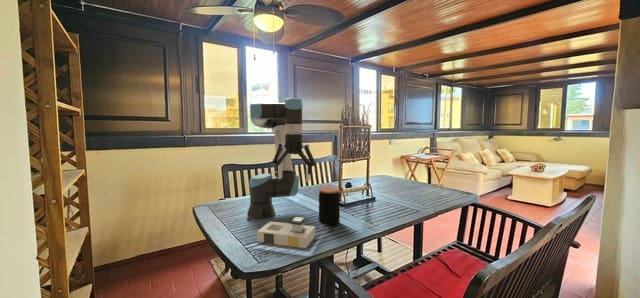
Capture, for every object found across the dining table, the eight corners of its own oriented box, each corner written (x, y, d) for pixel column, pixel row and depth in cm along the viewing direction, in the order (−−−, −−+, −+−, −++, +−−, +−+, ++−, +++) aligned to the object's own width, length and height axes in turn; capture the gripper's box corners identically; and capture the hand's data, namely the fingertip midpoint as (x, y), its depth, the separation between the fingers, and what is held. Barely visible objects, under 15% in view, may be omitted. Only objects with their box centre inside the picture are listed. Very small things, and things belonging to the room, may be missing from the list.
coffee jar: (327, 217, 150) (327, 185, 148) (343, 222, 143) (343, 188, 141) (314, 223, 142) (314, 189, 140) (331, 228, 135) (331, 192, 133)
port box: (257, 245, 117) (256, 231, 117) (270, 233, 129) (270, 221, 128) (305, 252, 111) (305, 237, 110) (315, 239, 123) (315, 226, 122)
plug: (292, 242, 117) (291, 220, 116) (295, 238, 121) (295, 216, 120) (301, 244, 116) (301, 221, 115) (304, 240, 120) (304, 217, 119)
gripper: (264, 133, 123) (265, 179, 126) (317, 135, 115) (317, 184, 118) (272, 131, 130) (272, 175, 133) (322, 133, 123) (322, 180, 126)
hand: (293, 179), depth 126 cm, fingers open, 13 cm apart
